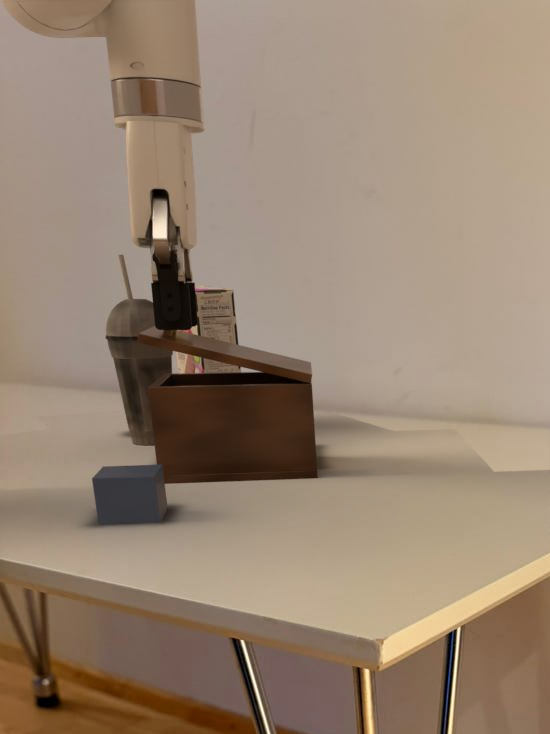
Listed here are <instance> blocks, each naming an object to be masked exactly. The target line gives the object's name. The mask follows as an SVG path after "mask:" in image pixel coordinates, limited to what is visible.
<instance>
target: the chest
mask: <svg viewBox="0 0 550 734" xmlns="http://www.w3.org/2000/svg"><path fill="white" fill-rule="evenodd" d="M148 396H149V404H150V412H151V420H152V429H153V437H154V445H153V446H154V452H155V453H154V454H155V462H156V465H163V474H164V482H165V485H170V484H197V483H198V484H199V483H201V484H202V483H225V482H226V483H228V482H254V481H255V482H257V481H281V480H284V481H285V480H307V479H308V480H310V479H319V476H318V459H317V444H316V443H317V442H316V430H315V429H316V427H315V414H314V413H315V411H314V395H313V381H312V379H311V383H307V382H303V381H299V380H295V379H290V378H286V377H282V376H278V375H273V374H269V373H265V372H261V371H241V372H224V373H178V372H177V373H173V372H172V374H163V375H162V376H161V377H160V378H159V379H158V380H156V381H155V382H154V383H153V384H152V385H151V386H149V387H148Z"/></svg>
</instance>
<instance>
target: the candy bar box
mask: <svg viewBox="0 0 550 734" xmlns="http://www.w3.org/2000/svg"><path fill="white" fill-rule="evenodd" d="M195 294H196V306H197V319H198V324H197V325H196V326H194V327H192V328H191V329H190V330H179V331H183V332H187V333H191V334H195V335H199V336H203V337H208V338H212V339H216V340H220V341H224V342H228V343H233V344H237V345H239V336H238V333H239V332H238V325H237V317H236V306H235V296H234V295H235V294H234V289H231V288H223V287H216V286H215V287H214V286H206V285H195ZM175 357H176V365H177V373H224V372H242V367H239V366H235V365H231V364H227V363H222V362H218V361H214V360H210V359H205V358H201V357H197V356H193V355H188V354H184V353H180V352H176V351H175Z"/></svg>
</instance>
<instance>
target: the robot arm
mask: <svg viewBox="0 0 550 734" xmlns="http://www.w3.org/2000/svg"><path fill="white" fill-rule="evenodd" d="M0 2H1V3H2V5H3V7H4V8H5V10H6V12H8V14H9V15H10V16H11V17H12V18H13V19H14V21H16V22H17V23H18V24H20V26H22V27H23V28H25V29H27V30H29V31H30V32H33V33H35V34H37V35H40V36H43V37H48V38H55V39H56V38H57V39H76V38H77V39H79V38H105V41H106V49H107V60H108V68H109V69H108V71H109V79H110V80H109V81H110V89H111V90H110V91H111V100H112V109H113V118H114V126H115V128H118V129H122V130H125V155H126V174H127V175H126V176H127V188H128V189H127V190H128V202H129V203H128V204H129V221H130V235H131V241H132V243H133V244H134V245H135V246H137V248H141V249H142V248H143V249H149V250H150V268H151V269H150V270H151V281H152V282H150V287H151V297H152V302H153V309H154V320H155V327H156V328H157V329H158V330H190V329H191V328H192V327H194V326H196V325H197V324H198V319H197V306H196V294H195V286H196V283H195V282H193V269H192V259H191V249H193V248H194V247H196V245H197V236H198V235H197V234H198V233H197V232H198V231H197V201H196V200H197V199H196V197H197V196H196V184H195V183H196V182H195V181H196V180H195V171H194V170H195V169H194V168H195V166H194V155H193V154H194V153H193V143H192V134H200V133H204V132H205V124H204V123H205V120H204V119H205V118H204V107H203V91H202V80H201V79H202V77H201V65H200V63H201V62H200V51H199V36H198V23H197V11H196V9H197V8H196V0H0Z"/></svg>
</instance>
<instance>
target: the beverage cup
mask: <svg viewBox="0 0 550 734" xmlns="http://www.w3.org/2000/svg"><path fill="white" fill-rule="evenodd" d="M118 260H119V264H120V269H121V273H122V278H123V283H124V288H125V292H126V296H127V298H126V299H123V300H121V301H120V302H118V303H117V304H116V305H115V306H113V308H112V309H111V311H110V312H109V315H108V317H107V320H106V326H105V333H106V334H105V339H106V341H107V346H108V350H109V352H110V356H111V358H113V364H114V368H115V369H114V370H115V373H116V377H117V382H118V386H119V387H118V388H119V391H120V395H121V396H120V397H121V400H122V404H123V410H124V414H125V419H126V423H127V427H128V428H127V429H128V430H129V434H130V437H131V442H132V444H133V445H138V446H155V445H154V437H153V429H152V420H151V412H150V404H149V396H148V387H149V386H151V385H152V384H153V383H154V382H155V381H156V380H158V379H159V378H160V377H161V376H162V375H163V374H173V359H172V358H173V357H172V356H173V354H174V351H171V350H167V349H163V348H159V347H154V346H150V345H146V344H142V343H138V342H137V340H138V334H139V333H141V332H143V331H145V330H147V329H149V328H151V327H153V326H155V320H154V309H153V301H151V300H149V299H146V298H134V296H133V292H132V289H131V288H132V287H131V283H130V279H129V278H130V277H129V275H128V270H127V265H126V260H125V255H124V254H118Z"/></svg>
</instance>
